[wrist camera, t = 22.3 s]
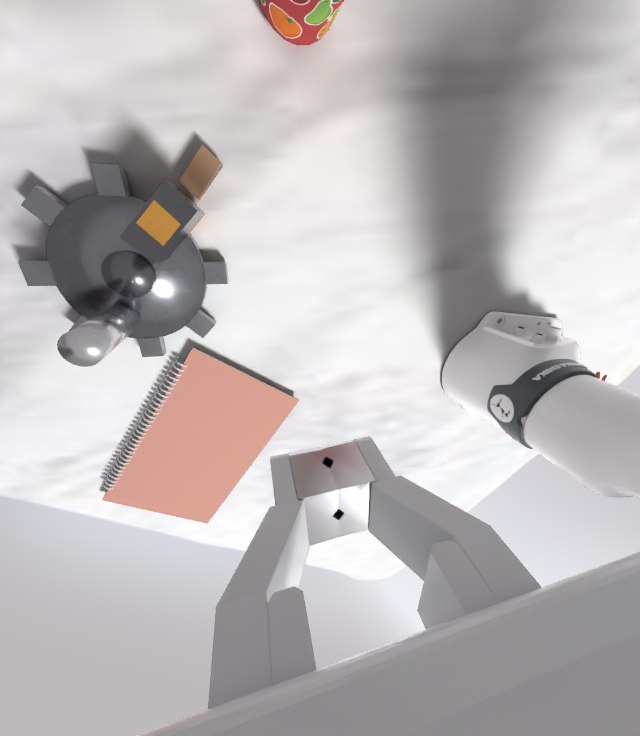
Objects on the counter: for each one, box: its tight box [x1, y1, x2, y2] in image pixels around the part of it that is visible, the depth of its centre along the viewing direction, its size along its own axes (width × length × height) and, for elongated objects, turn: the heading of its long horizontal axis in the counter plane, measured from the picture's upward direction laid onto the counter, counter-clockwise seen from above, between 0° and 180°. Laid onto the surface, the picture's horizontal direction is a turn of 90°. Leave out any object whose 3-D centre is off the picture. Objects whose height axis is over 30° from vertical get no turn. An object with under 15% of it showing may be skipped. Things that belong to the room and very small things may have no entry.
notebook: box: [102, 347, 299, 523], centre depth 41 cm, size 27×17×2 cm, turn 144°
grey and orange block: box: [120, 179, 205, 264], centre depth 25 cm, size 3×6×5 cm, turn 134°
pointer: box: [178, 144, 222, 200], centre depth 27 cm, size 4×2×2 cm, turn 138°
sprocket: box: [18, 163, 228, 367], centre depth 25 cm, size 18×18×10 cm
